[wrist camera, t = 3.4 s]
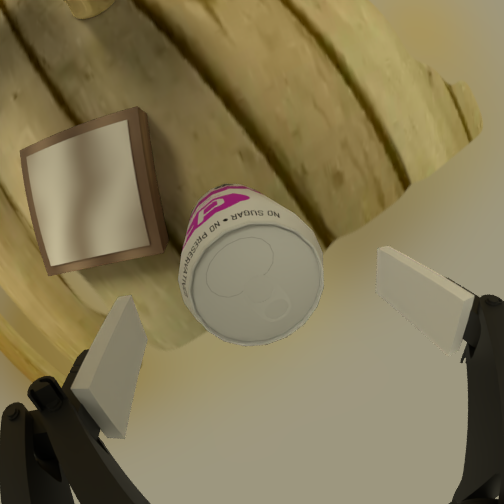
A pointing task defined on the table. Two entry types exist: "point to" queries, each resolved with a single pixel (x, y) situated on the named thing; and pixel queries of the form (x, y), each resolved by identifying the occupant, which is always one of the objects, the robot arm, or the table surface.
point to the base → (95, 193)
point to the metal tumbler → (87, 7)
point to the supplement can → (249, 267)
